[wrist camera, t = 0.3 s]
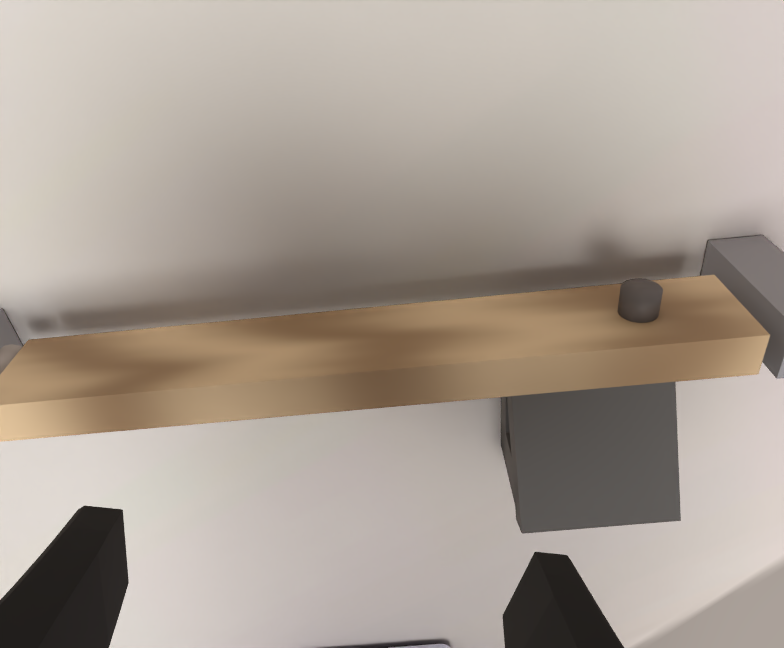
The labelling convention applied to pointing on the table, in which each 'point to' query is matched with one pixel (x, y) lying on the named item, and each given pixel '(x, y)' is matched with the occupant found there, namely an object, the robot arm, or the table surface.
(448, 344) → the gate
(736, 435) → the table surface
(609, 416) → the wedge
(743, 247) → the pair of grey posts
